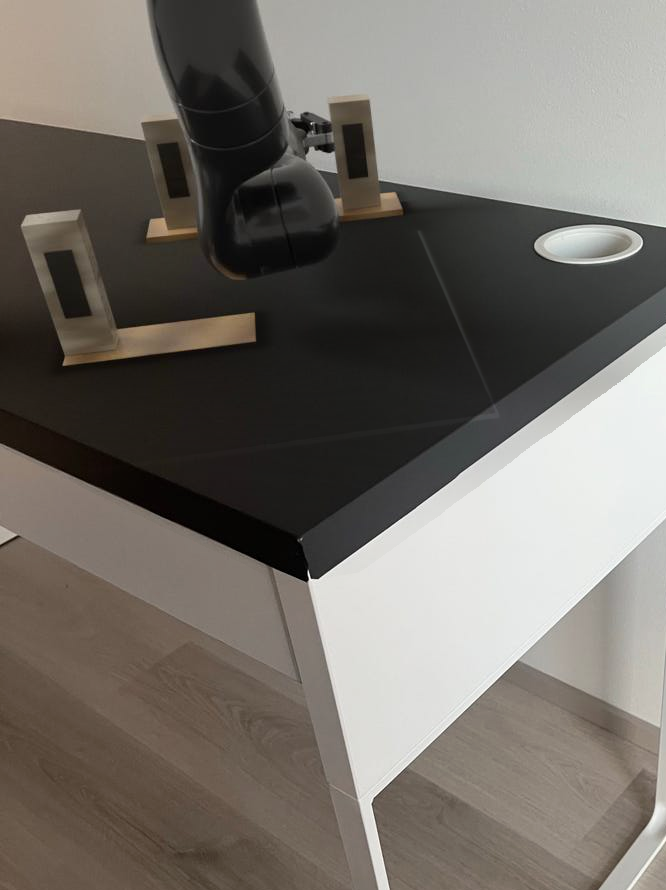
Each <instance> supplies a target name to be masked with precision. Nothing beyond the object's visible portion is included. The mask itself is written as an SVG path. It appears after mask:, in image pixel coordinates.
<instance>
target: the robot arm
mask: <svg viewBox="0 0 666 890" xmlns="http://www.w3.org/2000/svg"><path fill="white" fill-rule="evenodd" d="M145 5H146V13H147V19H148V20H147V21H148V23H149V24H148V25H149V32H150V36H151V40H152V46H153V50H154V54H155V58H156V62H157V66H158V68H159V71H160V75H161V78H162V80H163V83H164V85H165V88H166V91H167V93H168V96H169V99H170V102H171V104H172V106H173V110H174V113H176V115H177V117H178V120H179V123H180V125H181V128H182V131H183V133H184V136H185V139H186V142H187V145H188V149H189V152H190V157H191V161H192V167H193V173H194V182H195V208H196V226H197V234H198V238H197V239H198V243H199V247H200V249H201V252H202V254H203V256H204V258H205V260H206V261H207V263H208V264H209V266H210V267H211V268H212V270H214V271H215V272H217V273H218V274H220V275H221V276H222V277H225V278H226V279H229V280H232V281H238V282H239V281H247V280H252V279H253V280H254V279H257V278H261V277H264V276H269V275H274V274H279V273H284V272H288V271H292V270H296V269H302V268H306V267H310V266H313V265H317V264H320V263H322V262H323V261H325V260H326V259H328V258H329V257H330V255H332V254H333V252H334V251H335V249H336V247H337V245H338V242H339V239H340V234H341V233H340V231H341V222H340V220H339V213H338V209H337V205H336V202H335V199H336V198H335V197H334V195H333V193H332V191H331V188H330V187H329V185H328V183H327V181H326V180H325V179H324V177H323V175H322V174H321V173H320V172H319V171H318V169H316V168H315V167H314V166H313V164H312V163H310V162H309V161H308V160H307V155H308V154H309V152H310V148H313V149H314V151H316V152H319V151H320V152H322V153H326V154H332V153H335V152H334V151H335V144H334V137H333V130H332V123H331V122H330V120H328V119H326V118H324V117H321V116H319V115H318V114H315V113H314V112H309V111H303V112H302V113H300V114H299V116H300V117H299V118H298V117H295V114H294V111H292V110H287V109H286V106H285V102H284V99H283V95H282V90H281V87H280V84H279V80H278V75H277V72H276V67H275V65H274V61H273V57H272V54H271V51H270V47H269V43H268V40H267V36H266V33H265V28H264V25H263V20H262V17H261V13H260V8H259V3H258V0H145Z"/></svg>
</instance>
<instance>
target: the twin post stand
mask: <svg viewBox="0 0 666 890" xmlns="http://www.w3.org/2000/svg"><path fill="white" fill-rule="evenodd" d="M368 95H369V94H368V93H360V94H359V93H358V94H349V95H340V96H330V97H327V98H326V99H327V101H326V102H327V108H328V115H329V121H330V122H331V123H332V130H333V137H334V144H335V151H334V152H333V153H334V159H335V166H336V174H337V181H338V187H339V188H338V189H339V197H338V198H337V197H336V198H334V199H335V202H336V205H337V209H338V213H339V220H340V223H345V222H354V221H355V222H356V221H362V220H372V219H379V218H380V219H381V218H389V217H398V216H404V211H403V206H402V204H401V202H400V199H399V197H398V195H397V192H396V191H394V192H393V191H392V192H383V193H381V188H380V179H379V170H378V161H377V153H376V145H375V144H376V143H375V135H374V127H373V118H372V109H371V99H370V98H369V96H368ZM140 126H141V130H142V134H143V138H144V141H145V145H146V150H147V153H148V159H149V162H150V166H151V171H152V175H153V178H154V182H155V186H156V190H157V194H158V198H159V202H160V206H161V210H162V214H163V217H160V218H159V217H158V218H150V219H149V224H148V229H147V233H146V242H147V245H151V244H152V245H153V244H160V243H168V242H169V243H170V242H178V241H185V240H195V239H196V240H197V239H198V234H197V226H196V208H195V182H194V173H193V167H192V161H191V157H190V152H189V149H188V145H187V142H186V139H185V136H184V133H183V131H182V128H181V125H180V123H179V120H178V117H177V115H176V112H169V113H160V114H159V113H157V114H149V115H142V117H141V120H140Z"/></svg>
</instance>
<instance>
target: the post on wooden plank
mask: <svg viewBox="0 0 666 890" xmlns="http://www.w3.org/2000/svg"><path fill="white" fill-rule="evenodd" d="M20 229H21V232H22V235H23V237H24V241H25V244H26V246H27V250H28V251H29V256H30V258H31V260H32V264H33V266H34V269H35V273H36V276H37V279H38V281H39V284H40V287H41V290H42V292H43V296H44V299H45V301H46V305H47V307H48V311H49V314H50V316H51V319H52V322H53V326H54V328H55V332H56V334H57V337H58V340H59V342H60V346H61V348H62V352H63V354H64V359H63V363H62V367H65V366H73V365H74V366H75V365H80V364H81V365H82V364H89V363H98V362H105V361H112V360H113V361H115V360H121V359H129V358H137V357H138V358H139V357H145V356H153V355H161V354H168V353H169V354H170V353H177V352H184V351H192V350H200V349H201V350H202V349H209V348H218V347H225V346H232V345H233V346H234V345H240V344H247V343H248V344H249V343H256V342H257V332H256V331H257V330H256V313H255V312H248V313H240V314H231V315H223V316H214V317H207V318H206V317H205V318H199V319H191V320H190V319H189V320H181V321H175V322H166V323H156V324H150V325H142V326H134V327H124V328H117V325H116V321H115V317H114V315H113V310H112V308H111V305H110V301H109V298H108V295H107V291H106V287H105V284H104V281H103V277H102V274H101V271H100V268H99V265H98V261H97V257H96V254H95V251H94V248H93V245H92V241H91V237H90V235H89V231H88V228H87V225H86V221H85V218H84V214H83V211H82V209H80V208H79V209H70V210H60V211H53V212H44V213H35V214H26V215H25V217H24V219H23V221H22V222H21V225H20Z"/></svg>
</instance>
